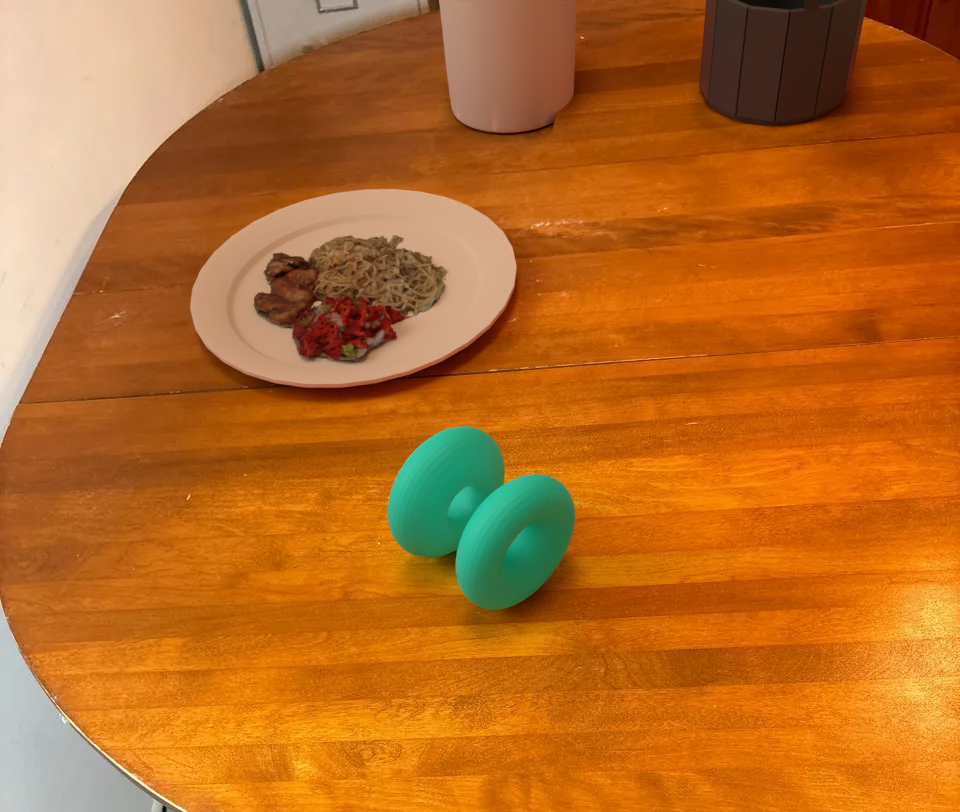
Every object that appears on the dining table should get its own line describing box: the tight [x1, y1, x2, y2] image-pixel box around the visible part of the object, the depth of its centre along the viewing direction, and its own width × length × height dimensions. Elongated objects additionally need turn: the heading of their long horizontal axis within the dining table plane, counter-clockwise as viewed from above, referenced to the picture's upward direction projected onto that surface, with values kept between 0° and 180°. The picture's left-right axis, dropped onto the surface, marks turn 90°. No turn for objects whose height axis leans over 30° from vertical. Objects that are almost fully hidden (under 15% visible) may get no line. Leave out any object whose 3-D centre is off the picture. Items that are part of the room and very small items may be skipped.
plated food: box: [189, 188, 518, 389], centre depth 97 cm, size 30×30×3 cm
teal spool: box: [387, 425, 576, 611], centre depth 73 cm, size 10×10×10 cm
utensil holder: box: [438, 0, 577, 134], centre depth 111 cm, size 15×15×18 cm
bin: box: [698, 0, 868, 126], centre depth 107 cm, size 15×15×14 cm
